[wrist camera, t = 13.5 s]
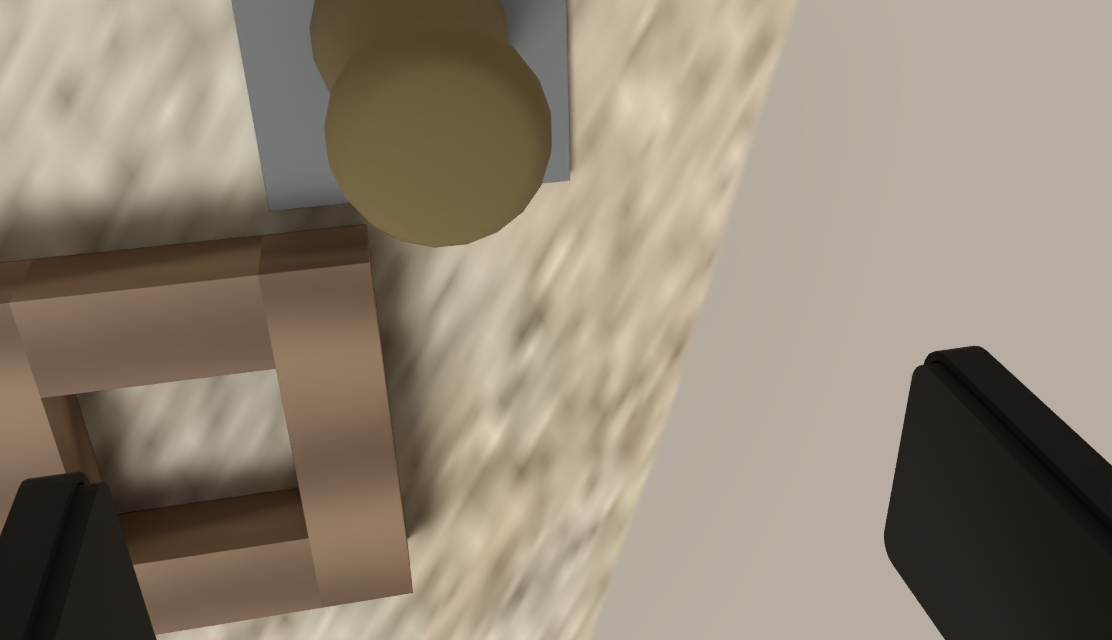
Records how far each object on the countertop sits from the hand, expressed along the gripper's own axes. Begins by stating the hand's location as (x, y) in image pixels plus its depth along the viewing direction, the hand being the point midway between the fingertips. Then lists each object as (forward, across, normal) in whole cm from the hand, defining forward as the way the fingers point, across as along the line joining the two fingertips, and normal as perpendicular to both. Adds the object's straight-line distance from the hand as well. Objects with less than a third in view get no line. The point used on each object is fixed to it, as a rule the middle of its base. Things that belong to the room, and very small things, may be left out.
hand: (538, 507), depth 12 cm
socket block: (+23, +9, +14) cm, 28 cm away
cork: (+23, 0, 0) cm, 23 cm away
